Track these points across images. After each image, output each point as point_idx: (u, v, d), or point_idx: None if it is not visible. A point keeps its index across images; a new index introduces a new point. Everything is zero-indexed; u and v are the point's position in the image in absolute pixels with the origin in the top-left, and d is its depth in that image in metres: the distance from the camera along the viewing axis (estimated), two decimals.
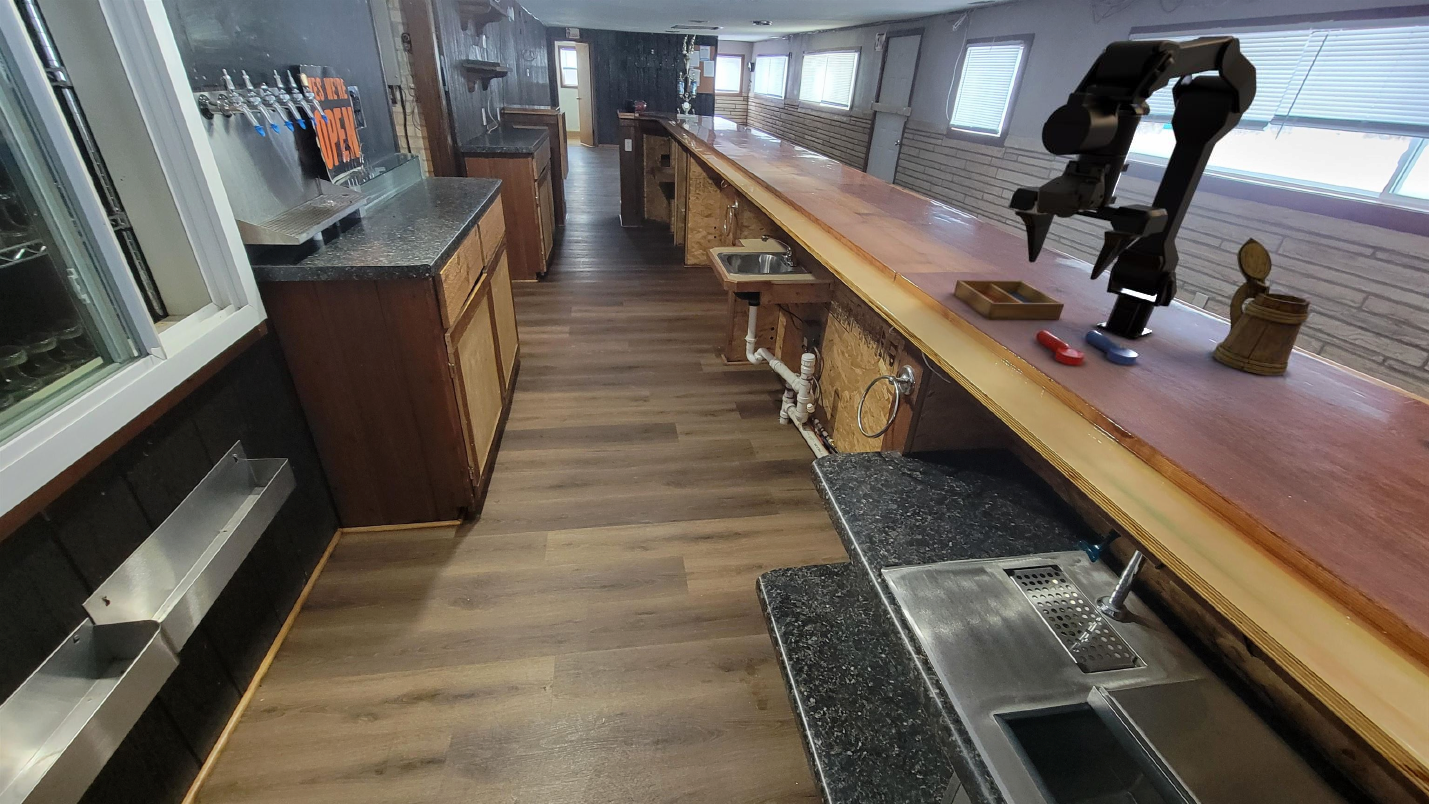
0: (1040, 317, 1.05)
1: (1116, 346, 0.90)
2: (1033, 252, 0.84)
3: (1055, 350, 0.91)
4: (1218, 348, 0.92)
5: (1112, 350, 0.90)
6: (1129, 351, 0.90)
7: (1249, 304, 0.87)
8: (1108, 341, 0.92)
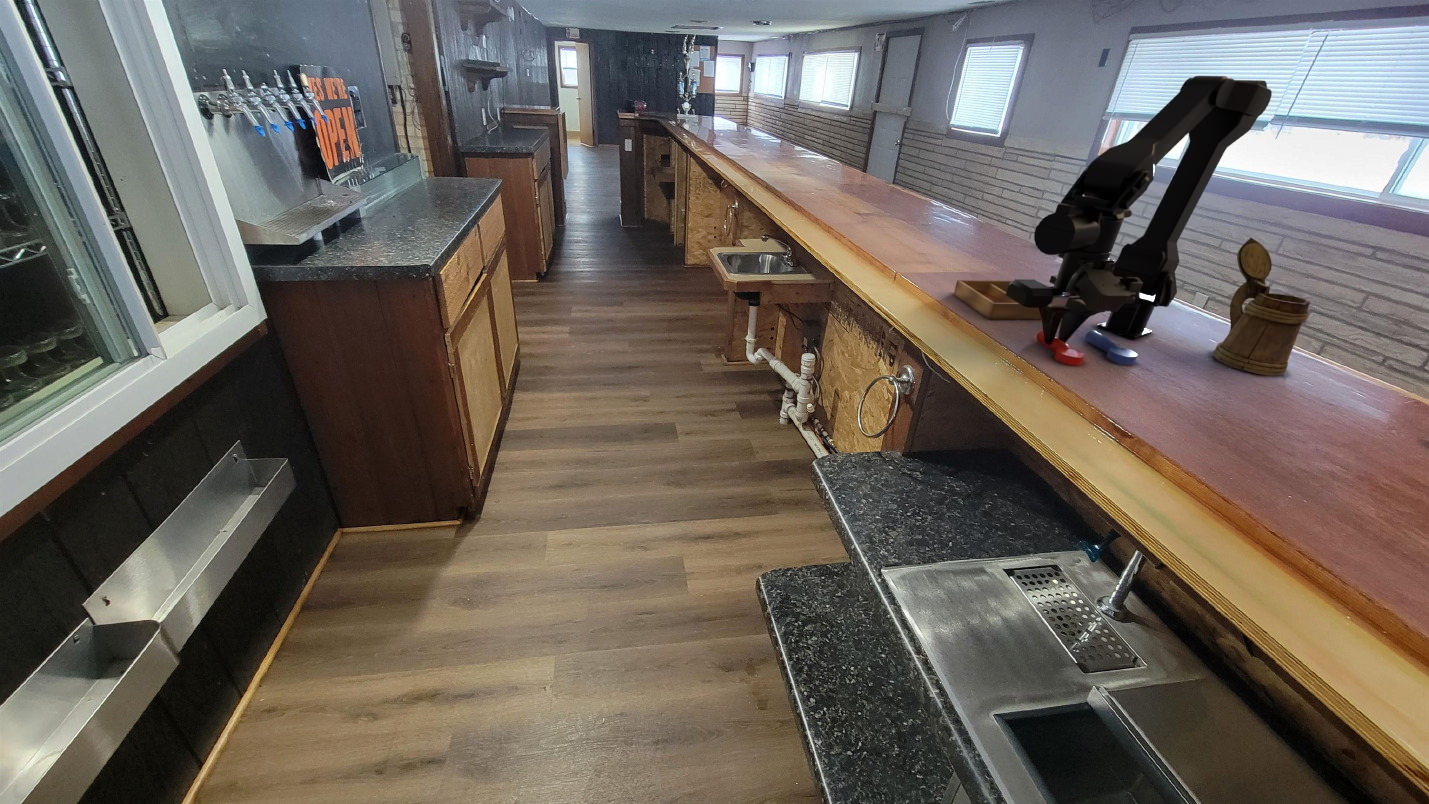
0: (1040, 317, 1.05)
1: (1116, 346, 0.90)
2: (1054, 336, 0.91)
3: (1055, 350, 0.91)
4: (1218, 348, 0.92)
5: (1112, 350, 0.90)
6: (1129, 351, 0.90)
7: (1249, 304, 0.87)
8: (1108, 341, 0.92)
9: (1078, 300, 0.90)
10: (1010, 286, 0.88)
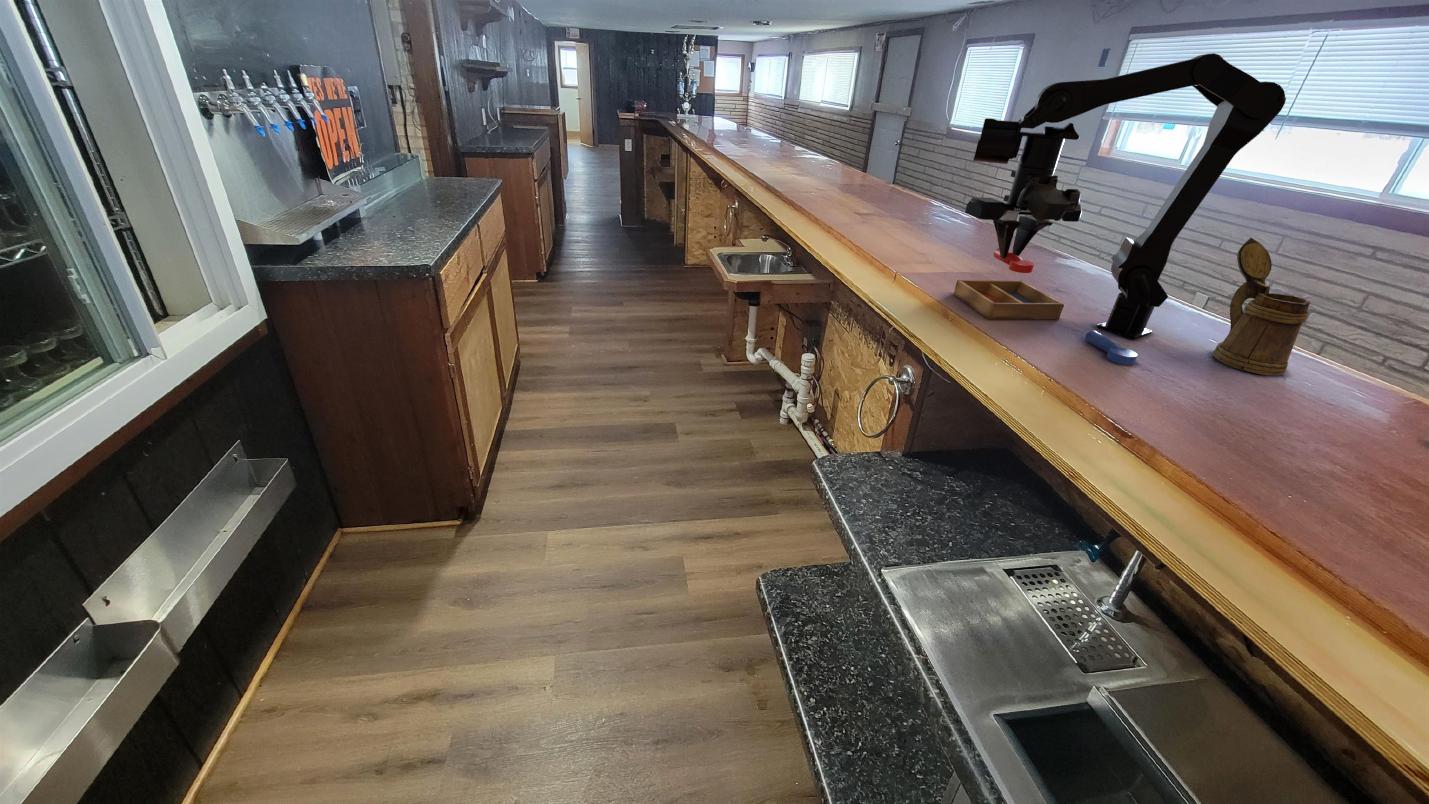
0: (1040, 317, 1.05)
1: (1116, 346, 0.90)
2: (1008, 250, 1.02)
3: (1009, 262, 1.02)
4: (1218, 348, 0.92)
5: (1112, 350, 0.90)
6: (1129, 351, 0.90)
7: (1249, 304, 0.87)
8: (1108, 341, 0.92)
9: (1029, 217, 1.01)
10: (968, 203, 0.99)
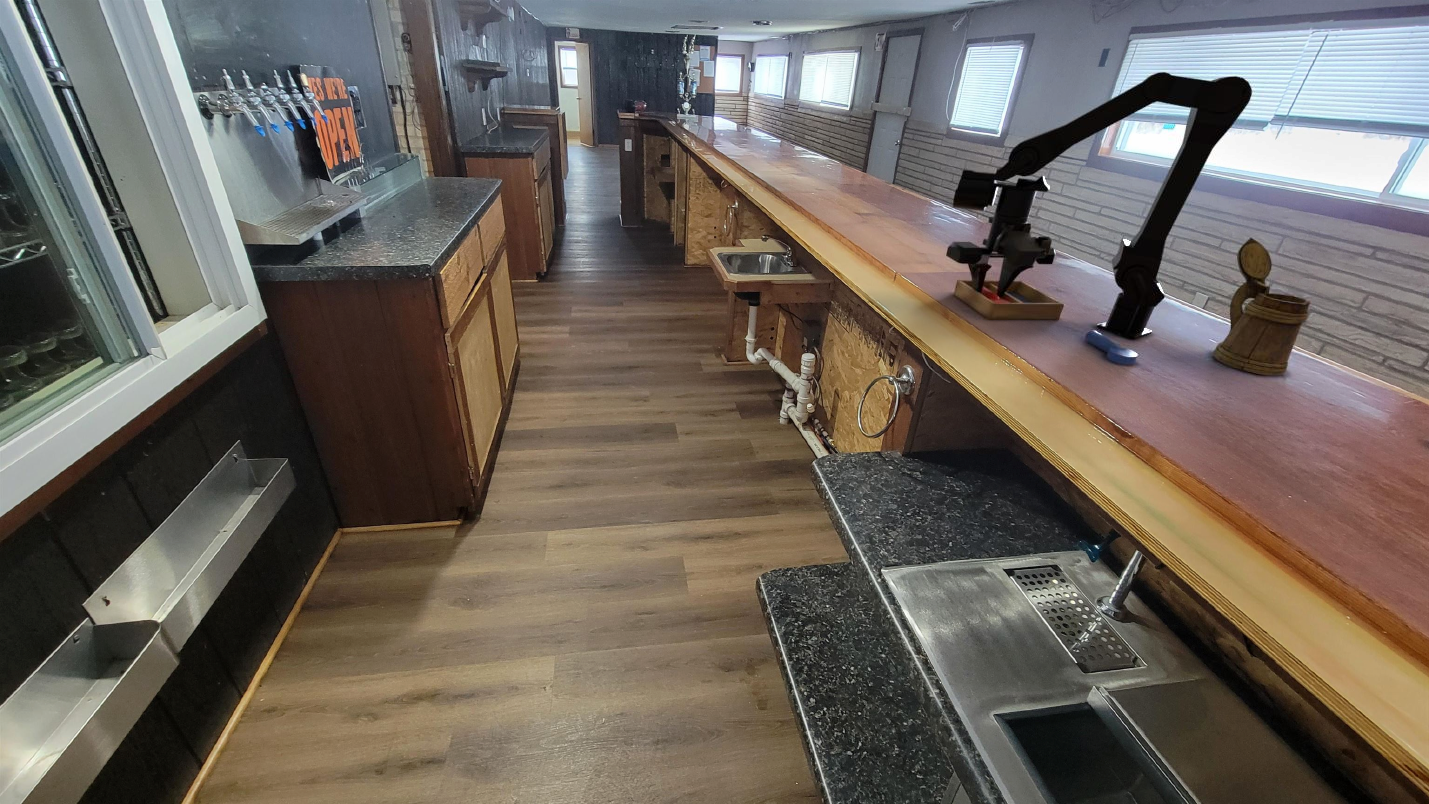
0: (1040, 317, 1.05)
1: (1116, 346, 0.90)
2: (981, 290, 1.09)
3: None
4: (1218, 348, 0.92)
5: (1112, 350, 0.90)
6: (1129, 351, 0.90)
7: (1249, 304, 0.87)
8: (1108, 341, 0.92)
9: None
10: (949, 247, 1.07)
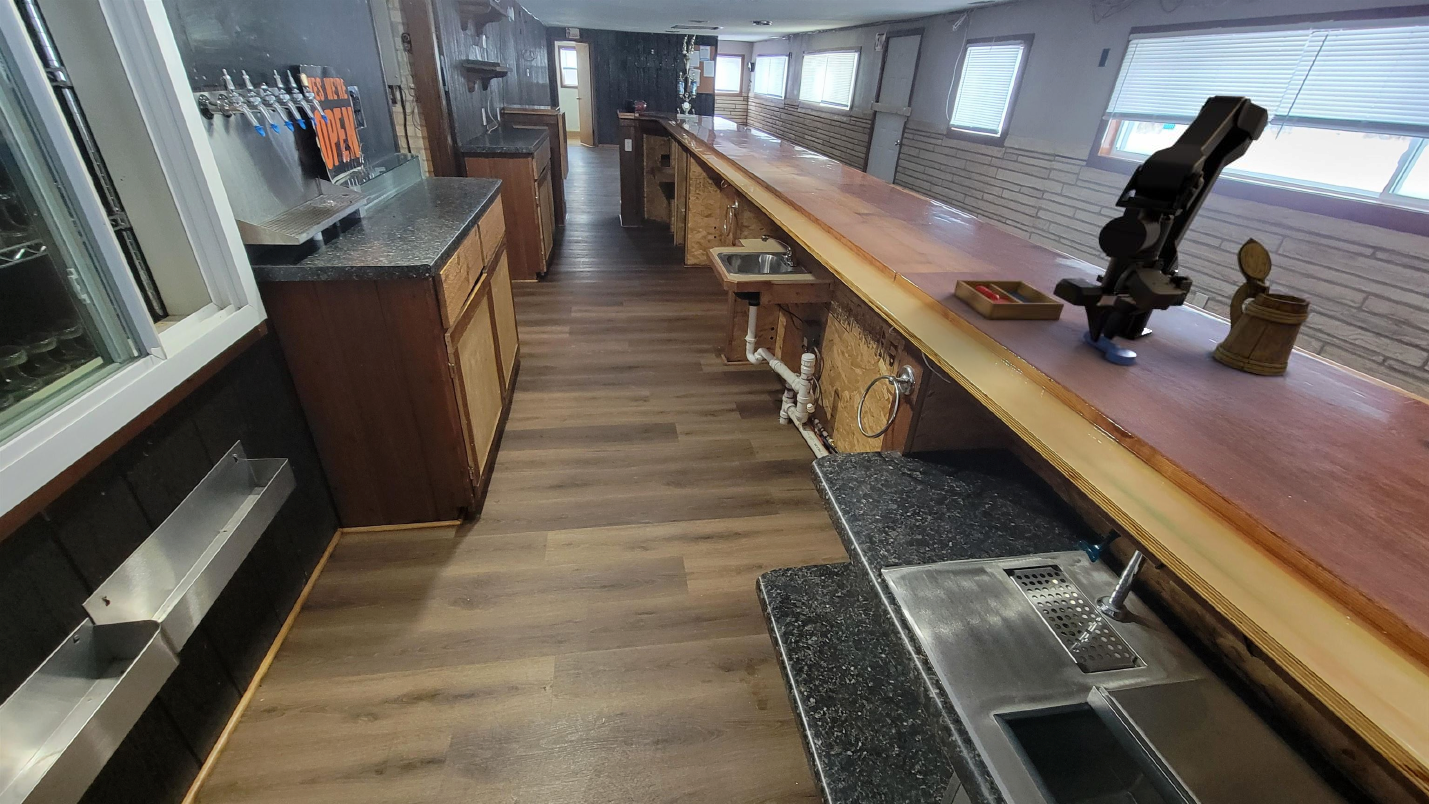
0: (1040, 317, 1.05)
1: (1115, 346, 0.90)
2: None
3: None
4: (1218, 348, 0.92)
5: (1111, 350, 0.90)
6: (1128, 351, 0.90)
7: (1249, 304, 0.87)
8: (1107, 341, 0.92)
9: (1124, 298, 0.91)
10: (1058, 285, 0.90)
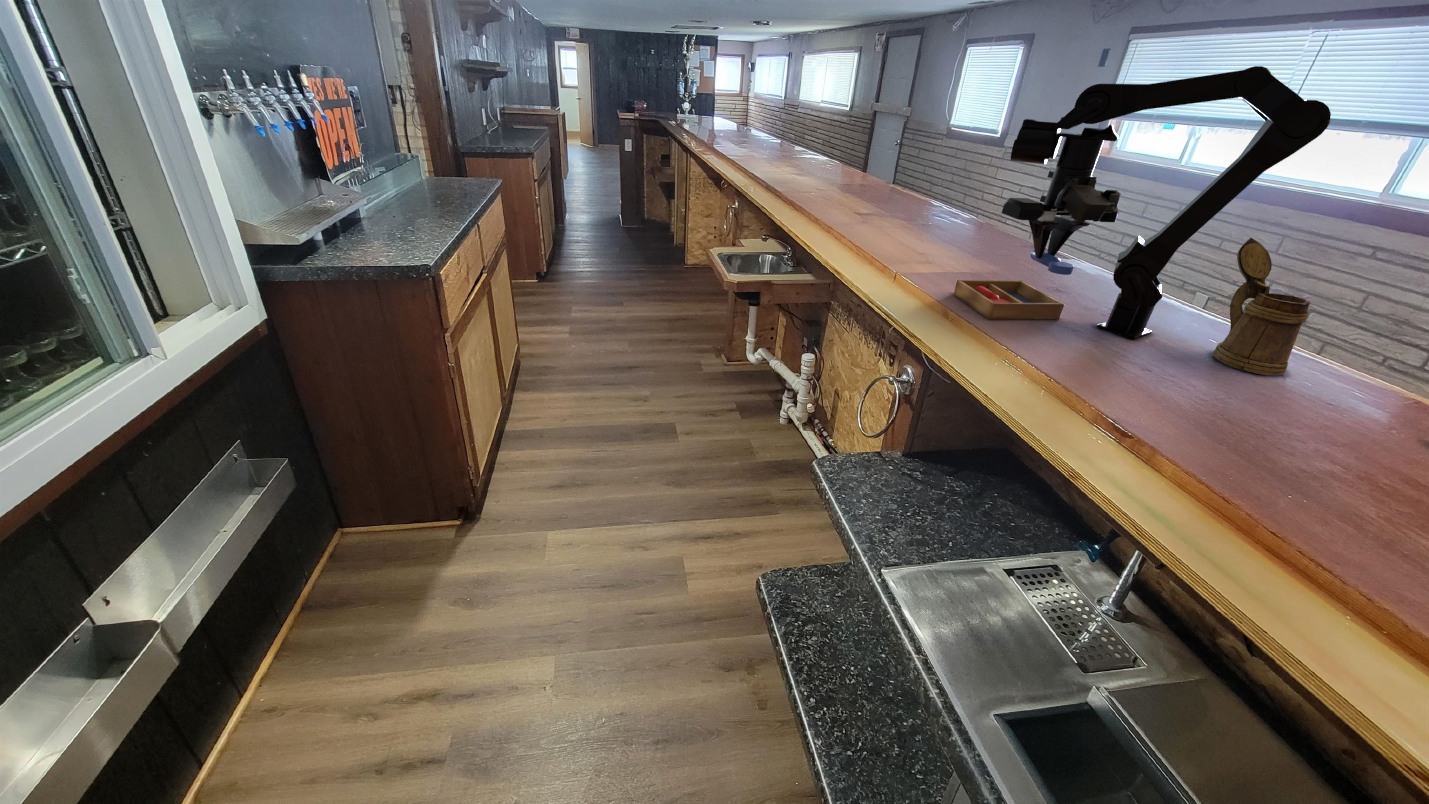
0: (1040, 317, 1.05)
1: (1056, 259, 1.01)
2: (1043, 250, 1.03)
3: None
4: (1218, 348, 0.92)
5: (1052, 262, 1.00)
6: (1067, 263, 1.00)
7: (1249, 304, 0.87)
8: (1049, 256, 1.02)
9: (1065, 217, 1.01)
10: (1006, 204, 1.00)
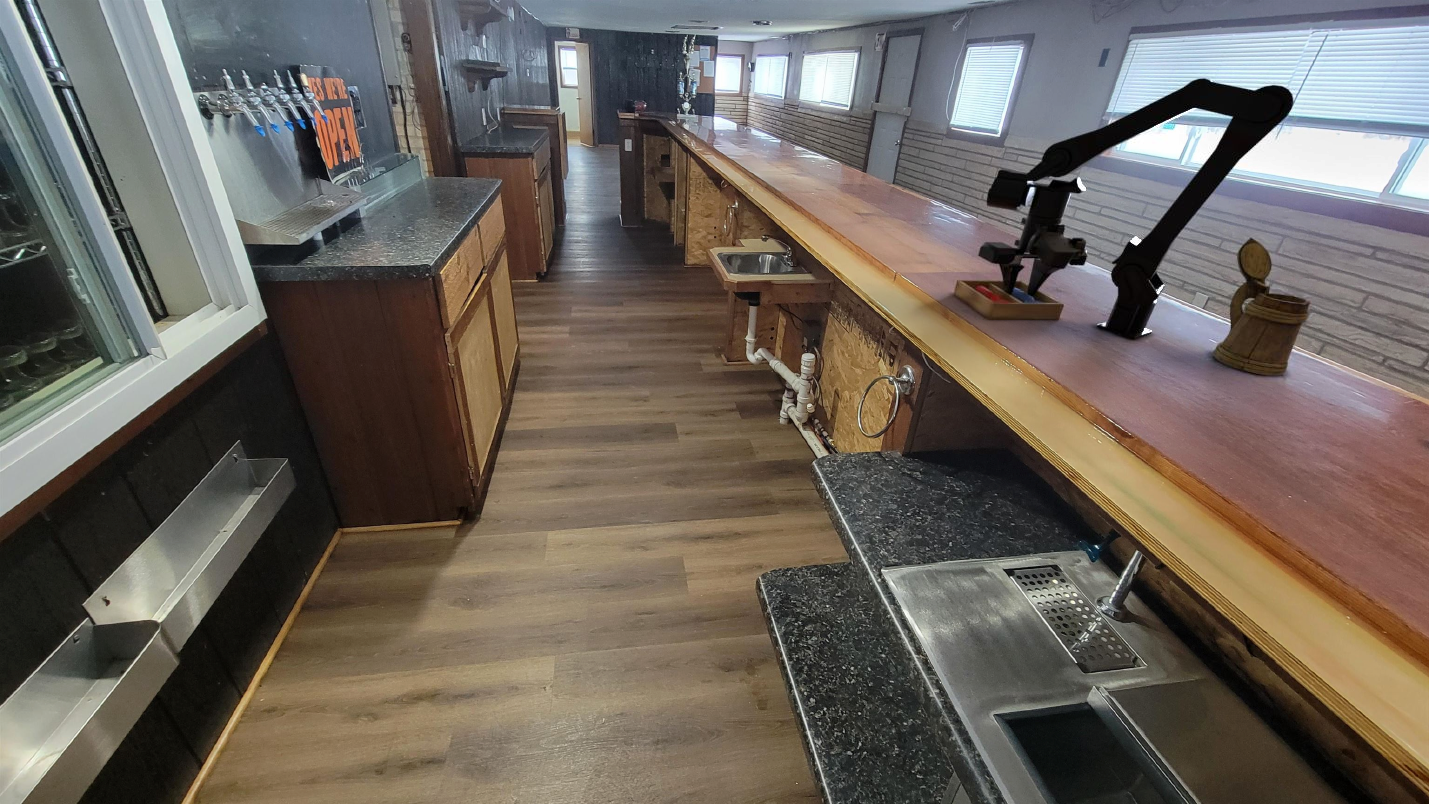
0: (1040, 317, 1.05)
1: (1030, 299, 1.08)
2: (1012, 290, 1.10)
3: None
4: (1218, 348, 0.92)
5: (1026, 302, 1.07)
6: (1040, 302, 1.07)
7: (1249, 304, 0.87)
8: (1024, 295, 1.09)
9: None
10: (981, 247, 1.07)
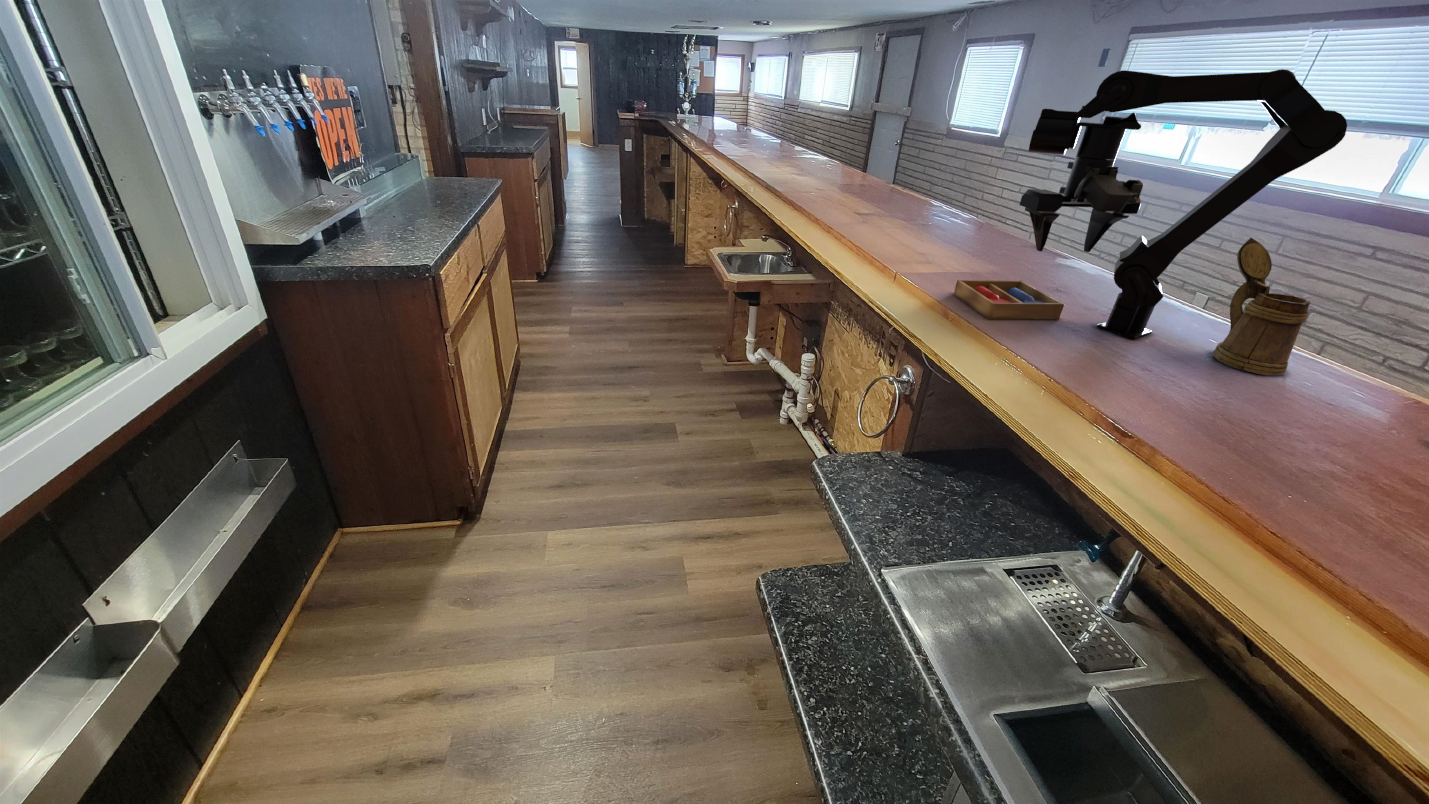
0: (1040, 317, 1.05)
1: (1030, 299, 1.08)
2: None
3: None
4: (1218, 348, 0.92)
5: (1026, 302, 1.07)
6: (1040, 302, 1.07)
7: (1249, 304, 0.87)
8: (1024, 295, 1.09)
9: None
10: (1024, 195, 0.98)
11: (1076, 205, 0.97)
